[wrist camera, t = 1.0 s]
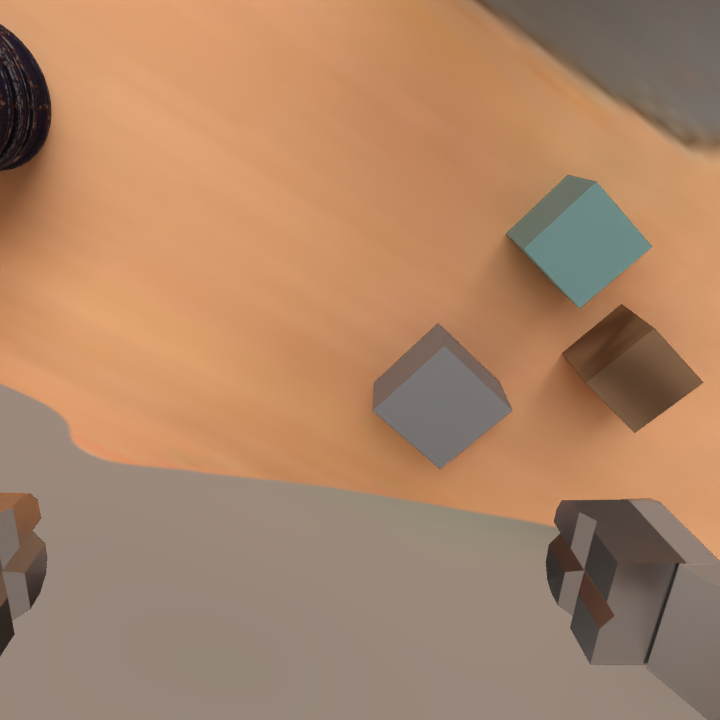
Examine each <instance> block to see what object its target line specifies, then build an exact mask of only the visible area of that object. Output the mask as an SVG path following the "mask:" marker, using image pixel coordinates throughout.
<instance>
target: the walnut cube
mask: <svg viewBox="0 0 720 720" xmlns="http://www.w3.org/2000/svg"><path fill="white" fill-rule="evenodd" d="M562 354H563V355H564V356H565V358H566V359H567V360H568V362H569V363H570V364H571V365H572V367H573V368H574V369H575V370H576V372H577V373H578V374H579V375H580V377H581V378H582V379H583V380H584V382H585V383H586V384H587V385H588V386H589V387H590V388H591V389H592V390H593V391H594V392H595V393H596V394H597V395H598V396H599V397H600V398H601V399H602V400H603V401H604V402H605V403H606V404H607V405H608V406H609V407H610V408H611V409H612V410H613V411H614V412H615V413H616V414H617V416H618V417H619V418H620V419H621V420H622V421H623V422H624V423H625V424H626V425H627V426H628V427H629V428H630V429H631V430H632V431H633V432H634V433H635V432H637V431H638V430H639V429H641V428H642V427H644V426H645V425H646V424H648V423H649V422H650V421H652V420H653V419H654V418H656V417H657V416H659V415H660V414H661V413H663V412H664V411H665V410H667V409H668V408H669V407H671V406H672V405H674V404H675V403H676V402H678V401H679V400H680V399H682V398H683V397H684V396H686V395H687V394H688V393H690V392H691V391H693V390H694V389H695V388H697V387H698V386H699V385H701V384H702V383H703V381H702V380H701V379H700V378H699V377H698V376H697V375H696V374H695V372H694V371H693V370H692V369H691V368H690V367H689V366H688V365H687V364H686V363H685V361H684V360H683V359H682V358H681V357H680V356H679V355H678V354H677V353H676V351H675V350H674V349H673V348H672V347H671V346H670V345H669V344H668V343H667V342H666V340H665V339H664V338H663V337H662V336H661V335H660V334H659V333H658V332H657V331H656V329H655V328H653V327H652V326H651V325H649V324H648V323H647V322H645V321H644V320H643V319H641V318H640V317H638V316H637V315H636V314H634V313H633V312H632V311H630V310H629V309H628V308H626V307H625V306H624V305H622V304H621V305H620V306H619V307H617V308H616V309H615V310H614V311H613V312H611V313H610V314H609V315H608V316H606V317H605V318H604V319H603V320H602V321H600V322H599V323H598V324H597V325H596V326H594V327H593V328H592V329H591V330H590V331H588V332H587V333H586V334H585V335H583V336H582V337H581V338H580V339H579V340H577V341H576V342H575V343H574V344H573V345H571V346H570V347H569V348H568V349H567V350H565V351H564V352H563V353H562Z"/></svg>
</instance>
